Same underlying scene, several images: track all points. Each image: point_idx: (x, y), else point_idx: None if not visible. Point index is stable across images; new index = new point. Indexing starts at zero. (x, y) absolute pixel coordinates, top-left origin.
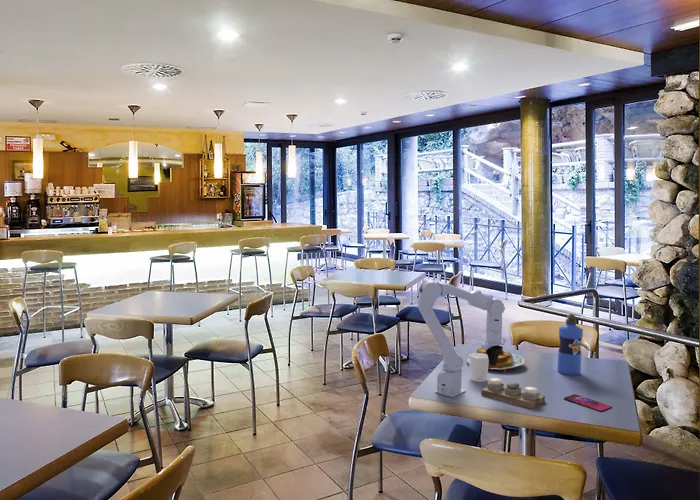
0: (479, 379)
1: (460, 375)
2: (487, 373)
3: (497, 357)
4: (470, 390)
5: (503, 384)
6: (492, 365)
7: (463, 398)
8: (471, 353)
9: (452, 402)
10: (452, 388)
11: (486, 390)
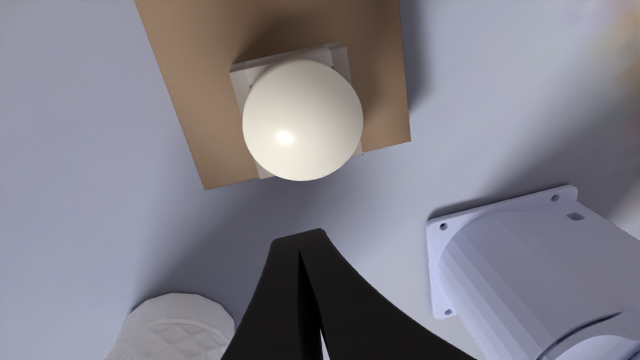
0: (212, 312)
1: (566, 288)
2: (124, 340)
3: (282, 310)
4: (384, 220)
5: (237, 68)
6: None
7: (536, 143)
8: None
9: (636, 130)
10: (588, 225)
11: (400, 107)
